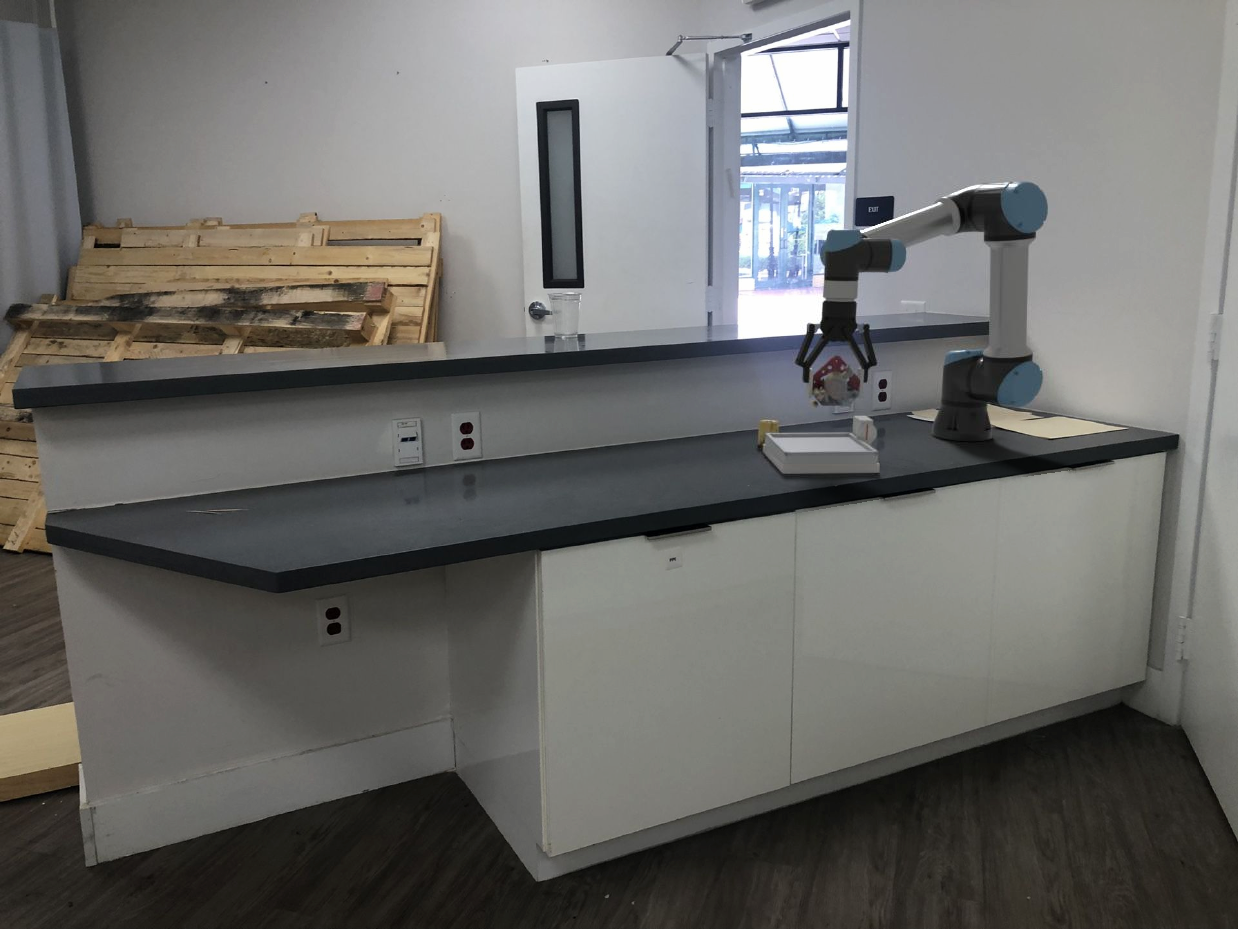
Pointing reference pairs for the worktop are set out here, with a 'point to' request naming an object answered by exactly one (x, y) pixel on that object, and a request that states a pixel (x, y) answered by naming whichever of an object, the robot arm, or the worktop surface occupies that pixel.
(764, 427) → the brass spacer
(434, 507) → the worktop surface
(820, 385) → the brake caliper
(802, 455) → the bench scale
